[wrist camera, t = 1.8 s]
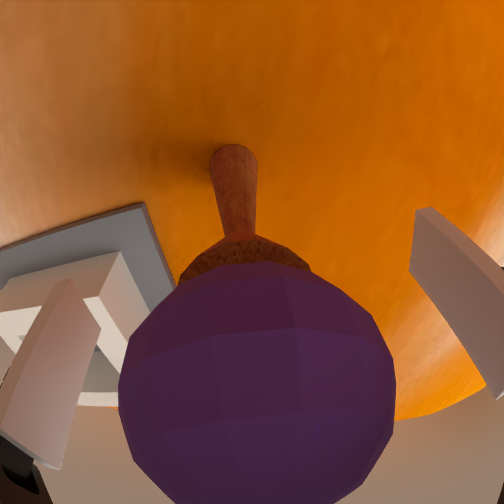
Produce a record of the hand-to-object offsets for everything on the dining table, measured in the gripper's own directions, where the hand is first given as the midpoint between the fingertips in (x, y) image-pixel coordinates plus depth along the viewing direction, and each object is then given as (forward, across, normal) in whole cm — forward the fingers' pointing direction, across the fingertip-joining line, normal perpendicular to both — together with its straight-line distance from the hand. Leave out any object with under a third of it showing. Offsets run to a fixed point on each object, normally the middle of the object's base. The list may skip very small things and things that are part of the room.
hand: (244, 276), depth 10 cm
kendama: (+12, 0, 0) cm, 12 cm away
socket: (+12, -17, -10) cm, 23 cm away
